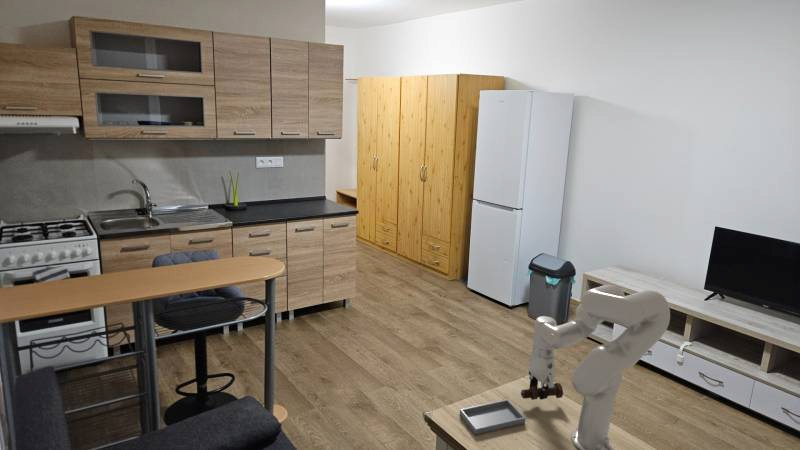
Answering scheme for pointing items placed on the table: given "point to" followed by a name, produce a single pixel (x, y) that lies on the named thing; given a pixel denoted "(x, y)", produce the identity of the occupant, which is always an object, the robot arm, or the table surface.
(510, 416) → the parts tray
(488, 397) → the table surface
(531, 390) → the bolt
